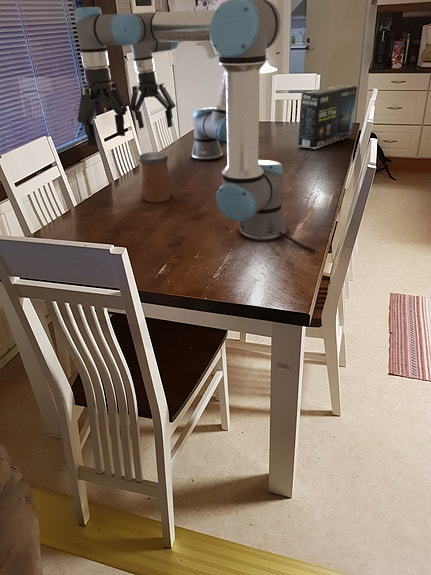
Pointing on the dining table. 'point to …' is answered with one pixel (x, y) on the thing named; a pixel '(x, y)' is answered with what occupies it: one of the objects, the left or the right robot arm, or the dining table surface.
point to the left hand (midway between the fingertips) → (155, 127)
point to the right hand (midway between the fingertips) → (107, 140)
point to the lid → (153, 158)
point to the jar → (155, 182)
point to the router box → (326, 115)
